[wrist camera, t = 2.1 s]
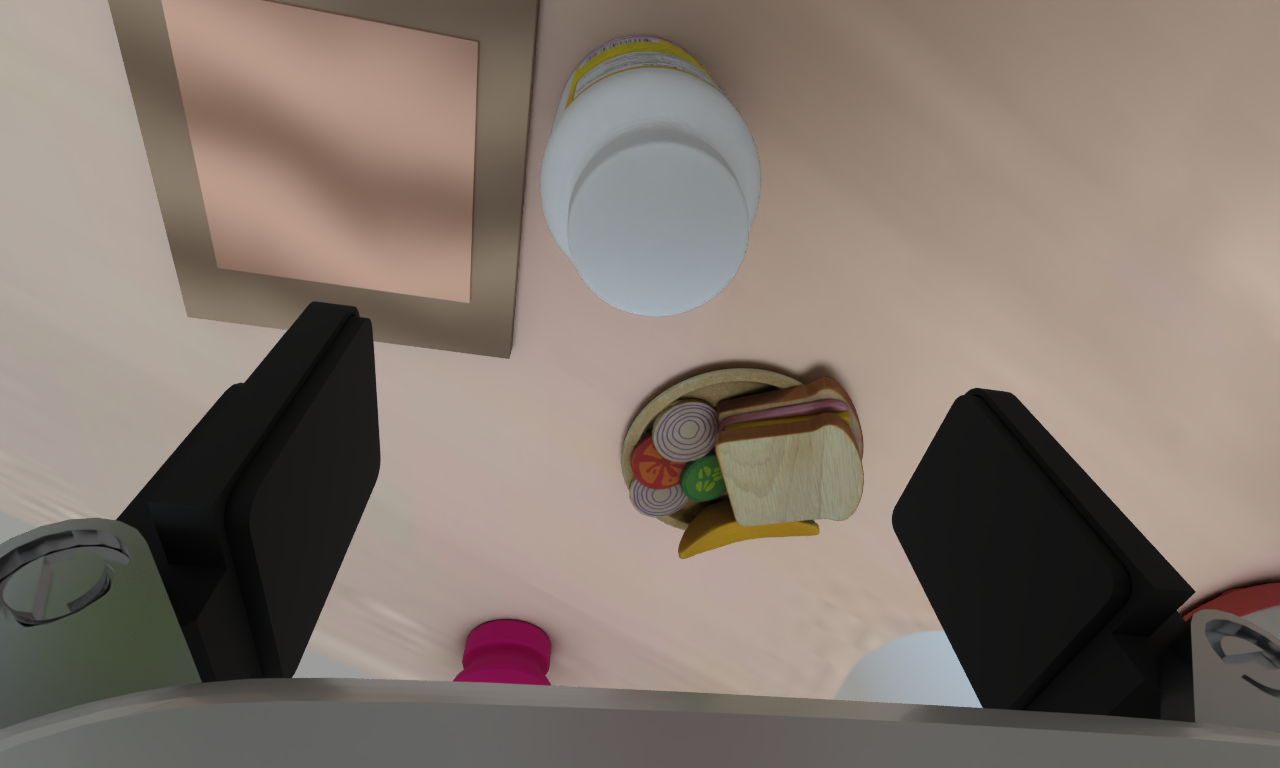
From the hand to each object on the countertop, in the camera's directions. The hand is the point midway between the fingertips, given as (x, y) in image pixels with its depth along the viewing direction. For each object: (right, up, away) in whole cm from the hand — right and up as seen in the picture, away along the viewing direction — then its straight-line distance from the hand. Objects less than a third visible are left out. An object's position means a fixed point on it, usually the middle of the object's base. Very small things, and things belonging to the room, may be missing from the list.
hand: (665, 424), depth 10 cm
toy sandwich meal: (+5, -2, +27) cm, 28 cm away
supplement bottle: (0, +12, +17) cm, 20 cm away
